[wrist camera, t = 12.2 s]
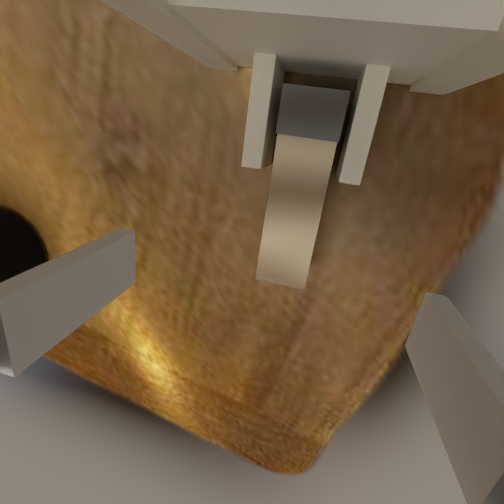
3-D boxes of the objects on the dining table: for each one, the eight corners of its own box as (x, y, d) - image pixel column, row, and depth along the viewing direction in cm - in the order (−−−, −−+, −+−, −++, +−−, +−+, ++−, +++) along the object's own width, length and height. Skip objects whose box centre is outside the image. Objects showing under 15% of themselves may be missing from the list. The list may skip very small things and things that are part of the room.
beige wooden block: (308, 265, 29) (305, 291, 24) (264, 256, 29) (253, 279, 24) (344, 100, 23) (350, 91, 19) (290, 94, 24) (283, 83, 19)
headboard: (203, 153, 27) (80, 168, 13) (212, 33, 24) (58, -114, 10) (413, 186, 24) (531, 248, 11) (456, 56, 21) (711, -102, 7)
